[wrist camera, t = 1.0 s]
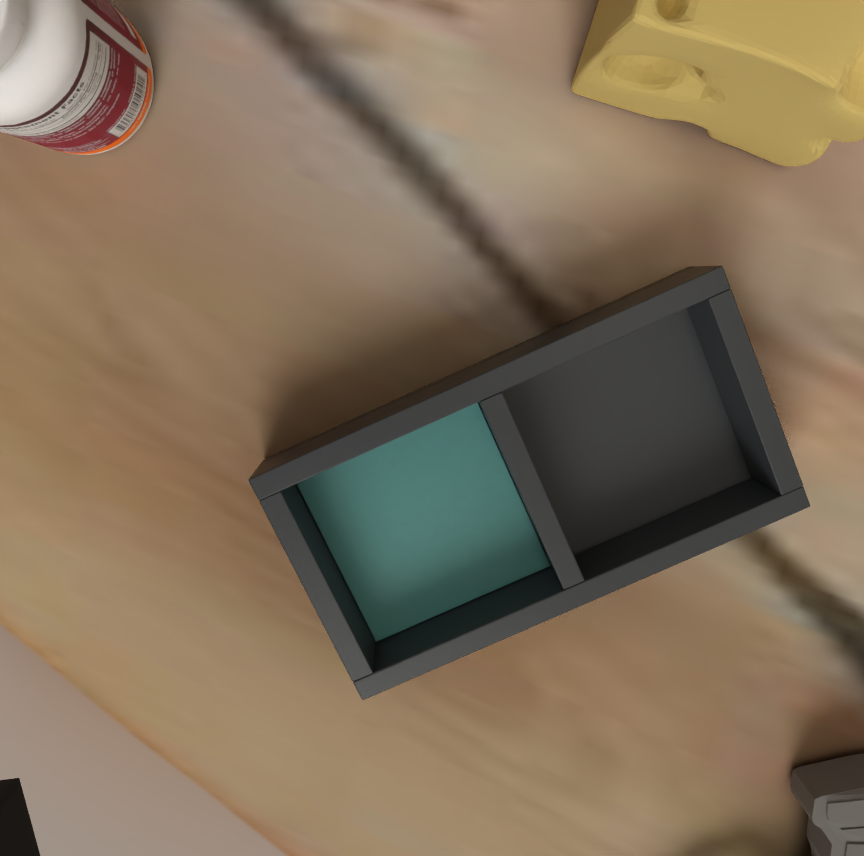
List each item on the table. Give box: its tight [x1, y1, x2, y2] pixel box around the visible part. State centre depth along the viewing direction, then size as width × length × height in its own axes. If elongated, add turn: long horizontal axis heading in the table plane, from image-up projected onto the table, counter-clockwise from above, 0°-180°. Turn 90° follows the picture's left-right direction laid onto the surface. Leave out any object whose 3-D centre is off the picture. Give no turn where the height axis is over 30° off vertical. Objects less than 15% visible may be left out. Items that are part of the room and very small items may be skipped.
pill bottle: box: [0, 0, 154, 155], centre depth 27 cm, size 6×6×11 cm
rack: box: [249, 266, 810, 700], centre depth 34 cm, size 11×21×4 cm, turn 114°
